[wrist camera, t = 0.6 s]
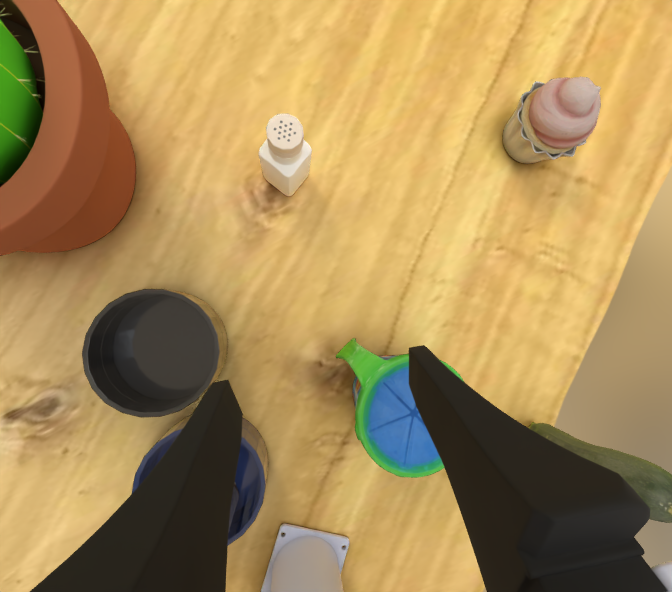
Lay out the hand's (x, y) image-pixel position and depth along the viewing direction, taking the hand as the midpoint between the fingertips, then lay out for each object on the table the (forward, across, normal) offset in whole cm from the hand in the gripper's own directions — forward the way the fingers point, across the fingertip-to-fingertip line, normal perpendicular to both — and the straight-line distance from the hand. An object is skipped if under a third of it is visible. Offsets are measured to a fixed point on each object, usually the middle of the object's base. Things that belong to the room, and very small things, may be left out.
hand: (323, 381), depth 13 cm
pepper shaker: (+30, +1, -2) cm, 30 cm away
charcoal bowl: (+19, +16, +11) cm, 28 cm away
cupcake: (+33, -30, -1) cm, 45 cm away
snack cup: (+16, -6, +20) cm, 27 cm away
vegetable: (+13, -23, +28) cm, 39 cm away
